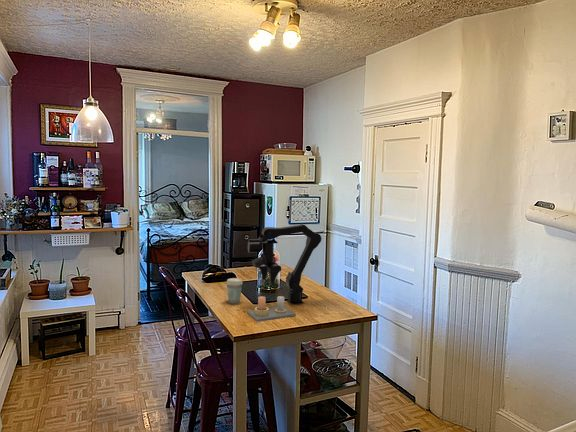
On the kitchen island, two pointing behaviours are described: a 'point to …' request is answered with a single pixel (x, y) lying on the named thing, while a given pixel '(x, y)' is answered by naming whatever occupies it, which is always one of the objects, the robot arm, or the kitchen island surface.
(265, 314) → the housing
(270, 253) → the robot arm
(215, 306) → the kitchen island surface
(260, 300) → the brown peg
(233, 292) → the coffee cup
